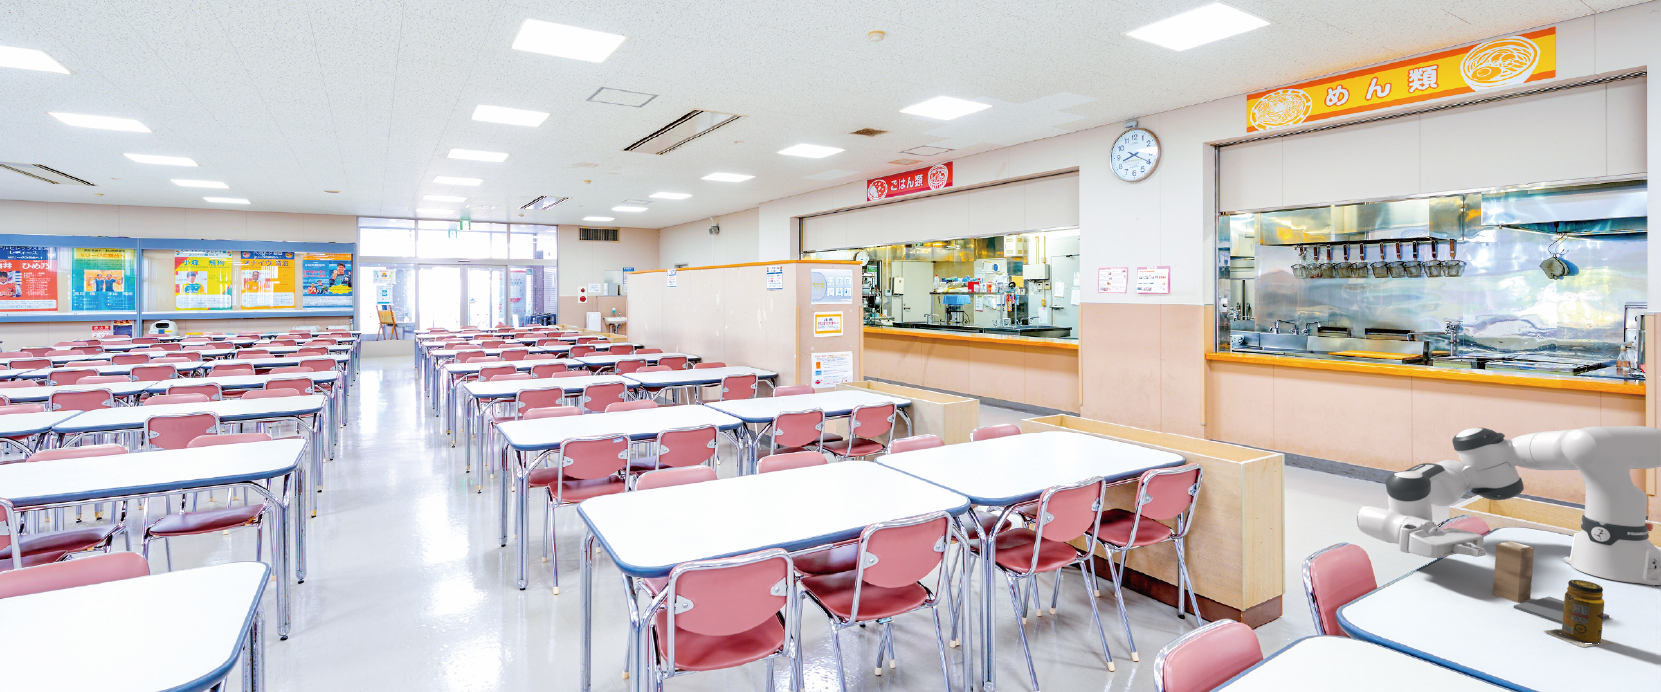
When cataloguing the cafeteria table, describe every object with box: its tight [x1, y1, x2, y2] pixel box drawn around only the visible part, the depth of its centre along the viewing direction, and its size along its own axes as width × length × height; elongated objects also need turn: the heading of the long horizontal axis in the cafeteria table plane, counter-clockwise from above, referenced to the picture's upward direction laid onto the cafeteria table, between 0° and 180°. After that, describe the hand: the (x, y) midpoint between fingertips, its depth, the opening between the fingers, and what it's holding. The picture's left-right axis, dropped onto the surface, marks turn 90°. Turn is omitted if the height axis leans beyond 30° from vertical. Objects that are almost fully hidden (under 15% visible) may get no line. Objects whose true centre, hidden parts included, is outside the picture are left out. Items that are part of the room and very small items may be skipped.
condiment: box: [1543, 579, 1613, 648], centre depth 162 cm, size 7×8×12 cm
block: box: [1492, 540, 1535, 604], centre depth 183 cm, size 5×5×13 cm
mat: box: [1513, 596, 1610, 625], centre depth 174 cm, size 14×11×1 cm
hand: (1481, 553), depth 188 cm, fingers closed
